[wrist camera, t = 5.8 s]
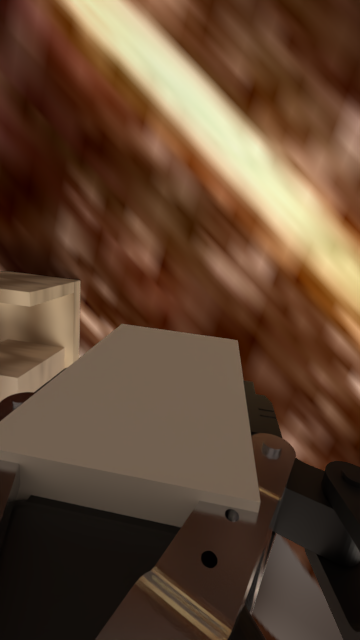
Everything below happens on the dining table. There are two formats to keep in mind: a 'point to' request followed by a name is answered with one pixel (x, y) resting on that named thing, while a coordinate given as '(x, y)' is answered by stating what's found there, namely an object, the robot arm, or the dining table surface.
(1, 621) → the robot arm
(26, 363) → the pastel slab stack
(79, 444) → the cream block
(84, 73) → the dining table surface
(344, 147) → the dining table surface
